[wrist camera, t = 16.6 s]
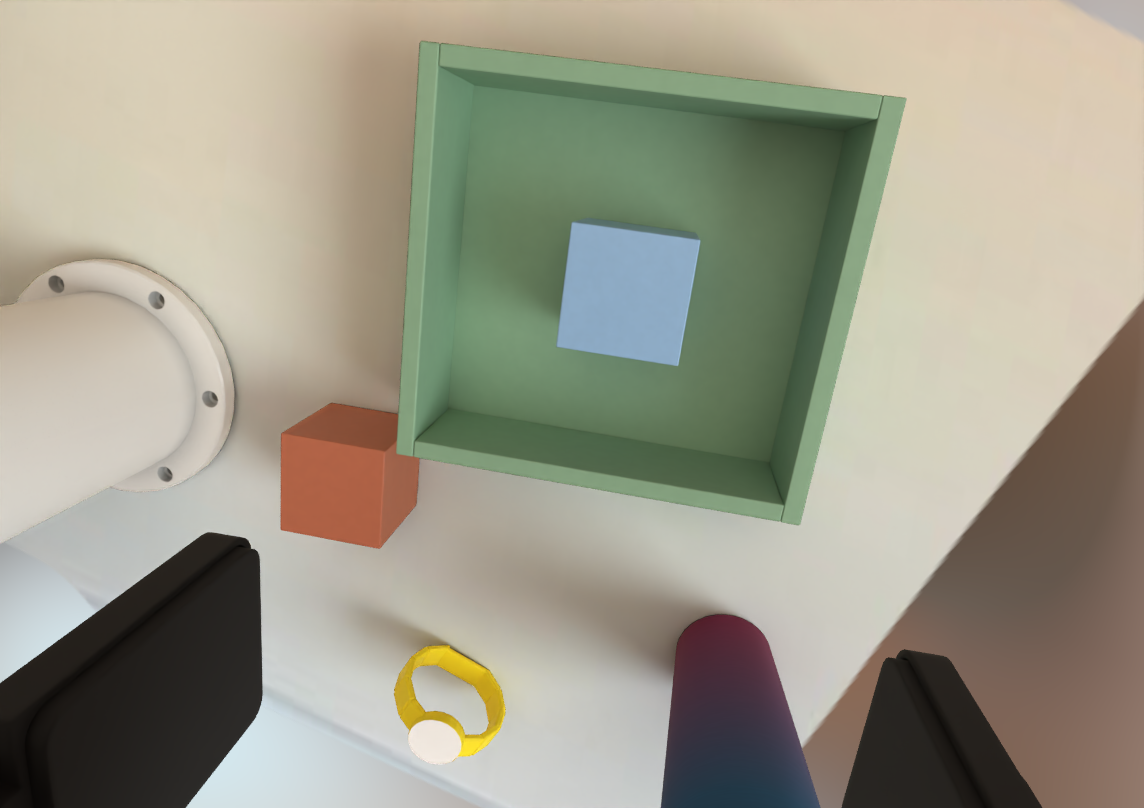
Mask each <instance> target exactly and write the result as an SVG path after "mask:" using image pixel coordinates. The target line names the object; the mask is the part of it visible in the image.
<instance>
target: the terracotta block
mask: <svg viewBox="0 0 1144 808" xmlns="http://www.w3.org/2000/svg"><path fill="white" fill-rule="evenodd" d="M397 428H398V414H393V413H388V412H382V411H376V410H370V409H364V408H358V407H353V406H347V405H341V404H335V403H330V404H328V405H327V406H325V407H324V408H322V409H320V410H319V411H317V412H315V413H314V414H312V415H310V416H309V417H307V418H305V419H304V420H302V421H300V422H299V423H297V424H296V425H294V426H292V427H291V428H289V429H287V430H286V431H284V432H282V433H281V530H284V531H289V532H294V533H299V534H305V535H310V536H315V537H320V538H326V539H331V540H336V541H341V542H347V543H352V544H357V545H362V546H368V547H373V548H378V549H379V548H381V547H382V545H383V544H384V543H385V542H386V541H387V539H388V538H389V537H390V536H391V535H392V533H393V532H394V531H395V530H396V529H397V527H398V526H399V525H400V524H401V523H402V521H403V520H404V519H405V518H406V517H407V515H408V514H409V513H410V512H411V511H412V509H413V508H414V507H415V506H416V502H417V488H418V473H419V458H416V457H414V456H406V455H400V454H397V453H396V446H397Z"/></svg>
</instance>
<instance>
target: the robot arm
mask: <svg viewBox="0 0 1144 808" xmlns="http://www.w3.org/2000/svg"><path fill="white" fill-rule="evenodd" d="M233 414H234V385H233V379H232V372H231V368H230V365H229V362H228V359H227V356H226V353H225V350H224V347H223V345H222V343H221V341H220V339H219V337H218V336H217V334H216V332H215V330H214V328H213V326H212V325H211V323H210V322H209V321H208V319H207V318H206V317H205V315H204V314H203V313H202V311H201V310H200V309H199V307H198V306H197V305H196V304H195V303H194V302H193V301H192V300H191V299H190V298H189V297H188V296H186V295H185V294H184V293H183V292H182V291H181V290H180V289H179V288H178V287H176V286H175V285H173V284H172V283H170V282H169V281H167V280H166V279H165V278H163V277H162V276H160V275H158V274H156V273H154V272H152V271H150V270H147V269H145V268H143V267H141V266H139V265H135V264H131V263H127V262H123V261H119V260H108V259H91V260H83V261H73V262H70V263H66V264H63V265H59V266H56V267H53V268H52V269H50V270H48V271H46V272H45V273H43V274H41V275H40V276H38V277H37V278H36V279H35V280H34V281H33V282H32V283H31V284H30V285H28V286H27V287H26V288H25V289H24V290H23V292H22V294H21V295H20V297H19V299H18V300H17V302H16V303H15V304H10V305H4V306H0V544H1V543H3V542H5V541H7V540H9V539H11V538H13V537H15V536H16V535H18V534H20V533H22V532H24V531H26V530H28V529H30V528H32V527H34V526H36V525H38V524H40V523H41V522H43V521H45V520H47V519H49V518H51V517H53V516H55V515H57V514H59V513H61V512H63V511H65V510H67V509H68V508H70V507H72V506H74V505H76V504H78V503H80V502H82V501H84V500H86V499H88V498H90V497H92V496H93V495H95V494H97V493H99V492H101V491H103V490H105V489H107V488H109V487H111V488H114V489H118V490H122V491H133V492H149V491H159V490H163V489H166V488H169V487H172V486H175V485H178V484H180V483H181V482H183V481H185V480H187V479H189V478H190V477H192V476H194V475H196V474H197V473H198V472H200V471H201V470H202V469H203V468H205V467H206V466H207V465H209V464H210V463H211V461H212V460H213V459H214V458H215V456H216V455H217V454H218V453H219V451H220V450H221V448H222V446H223V444H224V442H225V440H226V438H227V436H228V434H229V431H230V427H231V423H232V418H233ZM262 693H263V692H262V645H261V597H260V558H259V554H258V552H257V551H256V550H255V549H251V545H250V543H249V541H248V540H247V539H245V538H242V537H236V536H230V535H224V534H218V533H212V532H207V533H205V534H203V535H201V536H200V537H199V538H197V539H196V540H195V541H193V542H192V543H190V544H189V545H188V546H186V547H185V548H184V549H182V550H181V551H180V552H178V553H177V554H176V555H174V556H173V557H171V558H170V559H169V560H167V561H166V562H165V563H163V564H162V565H161V566H159V567H158V568H156V569H155V570H154V571H152V572H151V573H150V574H148V575H147V576H146V577H144V578H143V579H141V580H140V581H139V582H137V583H136V584H135V585H133V586H132V587H131V588H129V589H128V590H126V591H125V592H124V593H122V594H121V595H120V596H118V597H117V598H116V599H114V600H113V601H111V602H110V603H109V604H107V605H106V606H105V607H103V608H102V609H101V610H99V611H98V612H96V613H95V614H94V615H92V616H91V617H90V618H88V619H87V620H86V621H84V622H83V623H82V624H80V625H79V626H78V627H76V628H75V629H73V630H72V631H71V632H69V633H68V634H67V635H65V636H64V637H63V638H61V639H60V640H58V641H57V642H56V643H54V644H53V645H52V646H50V647H49V648H47V649H46V650H45V651H44V652H42V653H41V654H39V655H38V656H37V657H35V658H34V659H33V660H31V661H30V662H28V663H27V664H26V665H24V666H23V667H22V668H20V669H19V670H17V671H16V672H15V673H14V674H12V675H11V676H9V677H8V678H7V679H5V680H4V681H2V682H1V683H0V808H186V806H187V805H188V804H189V802H190V801H191V800H192V799H193V797H194V796H195V795H196V794H197V792H198V791H199V790H200V788H201V787H202V786H203V784H204V783H205V782H206V781H207V779H208V778H209V777H210V776H211V774H212V773H213V772H214V771H215V769H216V768H217V767H218V766H219V764H220V763H221V762H222V760H223V759H224V758H225V757H226V755H227V754H228V753H229V751H230V750H231V749H232V748H233V746H234V745H235V744H236V743H237V741H238V740H239V739H240V737H241V736H242V735H243V734H244V732H245V731H246V730H247V728H248V727H249V726H250V724H251V723H252V722H253V721H254V719H255V718H256V715H257V713H258V711H259V708H260V706H261V701H262ZM842 808H1042V807H1041V805H1040V803H1039V802H1038V800H1037V798H1036V797H1035V795H1034V793H1033V792H1032V790H1031V789H1030V787H1029V785H1028V784H1027V782H1026V781H1025V780H1024V779H1023V777H1022V776H1021V775H1020V773H1019V772H1018V770H1017V769H1016V767H1015V765H1014V764H1013V762H1012V760H1011V759H1010V757H1009V755H1008V754H1007V752H1006V751H1005V749H1004V747H1003V746H1002V744H1001V742H1000V741H999V739H998V737H997V736H996V734H995V733H994V731H993V730H992V728H991V726H990V724H989V723H988V721H987V720H986V718H985V716H984V715H983V713H982V712H981V710H980V708H979V707H978V705H977V703H976V702H975V700H974V698H973V697H972V695H971V693H970V692H969V690H968V689H967V687H966V685H965V684H964V682H963V681H962V679H961V677H960V676H959V674H958V672H957V671H956V669H955V667H954V666H953V664H952V662H951V661H950V660H949V659H948V658H947V657H944V656H940V655H934V654H928V653H922V652H916V651H910V650H905V649H904V650H902V651H900V652H899V654H898V655H897V657H896V659H895V658H886V659H885V661H884V662H883V665H882V668H881V672H880V675H879V678H878V682H877V685H876V689H875V692H874V696H873V699H872V703H871V706H870V710H869V713H868V717H867V720H866V723H865V727H864V730H863V734H862V737H861V741H860V744H859V748H858V751H857V755H856V759H855V762H854V766H853V769H852V772H851V776H850V779H849V783H848V786H847V790H846V793H845V797H844V800H843V804H842Z"/></svg>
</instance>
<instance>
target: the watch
mask: <svg viewBox="0 0 1144 808" xmlns="http://www.w3.org/2000/svg"><path fill="white" fill-rule="evenodd" d="M429 665H437V666H439V667H441V668H442V669H444V670H446V671H448V672H450V673H451V674H453V675H455V676H457V677H458V678H460V679H462V680H464V681H466V682H467V683H469V684H471V685H473V686H474V687H475V688H476V690H477V692H478V693H479V695H480V696H481V698H482V699H483V701H484V703H485V705H486V710H487V716H488V722H489V724H488V727H487V730H486V731H485V732H483V733H482V734H480V735H465V733H464V730H463V727H462V726H461V724H460V723H459V722H458V721H457V720H456V719H455V718H454V717H452V716H451V715H449V714H446V713H444V712H438V711H430V712H425V710H424V709H423V708H422V706H421V705H420V704H419V702H418V701H417V700H416V696H415V692H414V688H413V684H412V680H411V677H412V673H413V670H415V669H416V668H417V667H419V666H429ZM394 691H395V693H394V696H395V701H396V705H397V710H398V714H399V715H400V718H401V720H402V721H403V722H404V724H405V725H406V726H407V728H408V729H409V730H410V731H409V733H408V742H409V745H410V748H411V750H412V751H413V752H414V754H415V755H416V756H418V757H419V758H420V759H421V760H423V761H426V762H428V763H432V764H447V763H449V762H452V761H454V760H455V759H456V758H457V757H458V756H470V755H474V754H476V753H477V752H479V751H480V750H481V749H483V748H484V747H486V746H487V745H488V744H489V743H490V741H491V740H492V739H493V738H494V736H495V735H496V734H497V733H498V731H499V730H500V728H501V725H502V722H503V719H504V716H505V710H506V709H505V704H504V699H503V694H502V690H500V686H499V685H498V683H497V682H496V680H495V678H494V677H493V675H492V674H491V672H490V671H489V670H488V669H486V668H484V667H482V666H481V665H479V664H477V663H475V662H474V661H472V660H470V659H468V658H466V657H465V656H463V655H461V654H460V653H458V652H456V651H454V650H452V649H451V648H450V646H449V645H448V646H446V645H440V646H427V647H424V648H423V649H421V650H420V651H418V652H417V653H416V654H414V655H413V656H411V658H410V659H409V661H408V662H407V663H406V665H405V666H404V668H403V669H402V671H401V672H400V673H399V676H398V679H397V683H396V686H395V689H394Z"/></svg>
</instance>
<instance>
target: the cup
mask: <svg viewBox="0 0 1144 808" xmlns="http://www.w3.org/2000/svg"><path fill="white" fill-rule="evenodd" d="M661 808H820V805H819V802H818V798H817V795H816V792H815V789H814V786H813V783H812V780H811V776H810V773H809V770H808V767H807V764H806V760H805V757H804V754H803V751H802V748H801V745H800V741H799V738H798V735H797V732H796V729H795V726H794V722H793V719H792V716H791V713H790V710H789V707H788V703H787V700H786V697H785V694H784V691H783V688H782V684H781V681H780V678H779V675H778V672H777V669H776V665H775V662H774V659H773V656H772V653H771V650H770V646H769V643H768V641H767V639H766V638H765V636H764V635H763V633H762V632H761V631H760V630H759V629H758V628H757V627H756V626H754V625H753V624H752V623H750V622H748V621H746V620H744V619H742V618H739V617H736V616H731V615H712V616H707V617H704V618H702V619H699V620H697V621H696V622H694V623H692V624H691V625H690V626H689V627H688V628H687V629H686V630H684V632H683V633H682V635H681V636H680V638H679V641H678V643H677V648H676V657H675V667H674V677H673V688H672V698H671V708H670V719H669V729H668V740H667V750H666V760H665V771H664V781H663V791H662V802H661Z"/></svg>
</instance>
